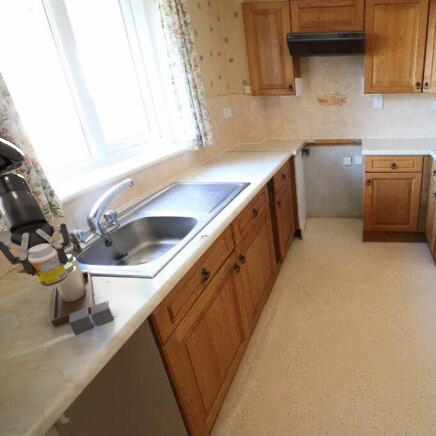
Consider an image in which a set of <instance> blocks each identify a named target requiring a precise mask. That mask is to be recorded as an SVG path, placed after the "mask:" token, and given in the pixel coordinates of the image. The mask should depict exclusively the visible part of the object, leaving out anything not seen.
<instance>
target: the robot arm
mask: <svg viewBox="0 0 436 436" xmlns="http://www.w3.org/2000/svg"><path fill="white" fill-rule="evenodd" d="M25 164H26V157H25V155H24V153H23V151H22V150H20V149H19V148H18V147H17V146H15V145H14V144H12V143H10V142H9V141H6V140H4V139H3V138H0V214H1V217H2V218H3V221H4V223H5V225H6V227H7V229H8V231H9V234H10V235H9V238H8V239H6V240H4V241H0V252H1V253H2V254H3V256H4V258H6V260H8V262H9V263H10V264H11V265H12V266H14V265H17V264H20V265H21V266H22V268H23V269H24V272H25V273H26V274H27V275H28V276H30V275H31V277H34V276H37V275H36V274H35V272H34V270H33V268H32V266H31V264H30V262H29V258H30V256H31V255H30V253H29V249H30V248H32V247H34V246H36V245H39V244H49V245H50V247H51V249H53V250H56V251H57V253H58V255H59V257H60V259H61V261H62V263H63V265H66V264H67V263H66V262H68V257H67V255H66V254H67V253H66V251H65V250H66V249H67V248H71V246H72V243H71V239H70V235H69V230H68V227H67V224H66V223H60V224H59V225H56V226H53V225H52V224H50V223H49V221H48V219H47V216H46V215H45V213H44V211H43V209H42V206H41V205H40V203H39V201H38V199H37V198H36V196H35V195H34V193H33V191H32V189H31V187H30V185H29V183H28V181H27V180H26V178H25V177H24V176H23V175H20V174H16V173H10V172H13V171H16V170H19V169H21V168H23V167H24V165H25ZM55 232H56V233H58V235H62V241H63V242H61V243H59V242H58V240H56V239H55V238H53V236H54V234H55ZM13 244H14V245H16V246H18V247H20V248H19V249H20V250H19V251H20V253H19V256H14V254H13V253H12V252H11V251H10V250H11V249H12V245H13Z"/></svg>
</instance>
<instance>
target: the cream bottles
mask: <svg viewBox="0 0 436 436" xmlns="http://www.w3.org/2000/svg"><path fill="white" fill-rule="evenodd" d="M66 255H67V257H68V262H66V263H67V264H66V265H64V268H65V270H66V272H67V274H68V278H67V280H66V281H64V282H63V283H61V284H59V285H56V287H57V289H58V291H59V293H60V295H61V297H62V299H63V301H65V302H70V301H74V300H77V299H79V298H81V297H83V296H84V295H85V294H86V289H85V287H84V284H85V282H86V281H85V279H84V276H83V274H82V273H83V272H82V270H81V268H80V265H79V262H78V261H77V258H76V257H75V256H73V255H72V253H66Z"/></svg>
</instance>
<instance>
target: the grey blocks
mask: <svg viewBox="0 0 436 436" xmlns="http://www.w3.org/2000/svg"><path fill="white" fill-rule="evenodd" d="M114 320H115V317H114V313H113V309H112V307H111V304H110V301H109V300H105V301H103V302H100V303H98V304H95V306H92V307H91V314H90V312H89V309H88V308H86V309H83V310H80V311H78V312H75V313H72V314H69V322H68V323H69V325H70V327H71V330H72V331H73V333H74V335H75V336H76V335H79V334H81V333H84V332H87V331H89V330H91V329H94V328H95V327H99V326H103V325H105V324H108V323H110V322H113V321H114ZM94 325H95V327H94Z"/></svg>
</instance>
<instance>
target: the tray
mask: <svg viewBox="0 0 436 436" xmlns="http://www.w3.org/2000/svg"><path fill="white" fill-rule="evenodd" d="M82 274H83V276H84V279H85V281H86V282H85V284H84V287H85V289H86V294H85V295H84V296H83V297H81V298H79V299H77V300H74V301H70V302H65V301H63V299H62V297H61V295H60V293H59V291H58V289H57V287H56V286H53V287H52V288H53V290H52V302H51V304H52V305H51V315H50V316H51V317H50V322H51V324H52V326H53V327H54V328H55V327H58V326H59V327H60V326H61V325H64V324H67V323H69V314H72V313H75V312H78V311H80V310H83V309H86V308H88V309H89V312H90V314H91V307H92V306H95V305H96V303H95V292H94V284H93V276H92V274H91V271H90V270H87V271H84V272H82Z"/></svg>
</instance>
